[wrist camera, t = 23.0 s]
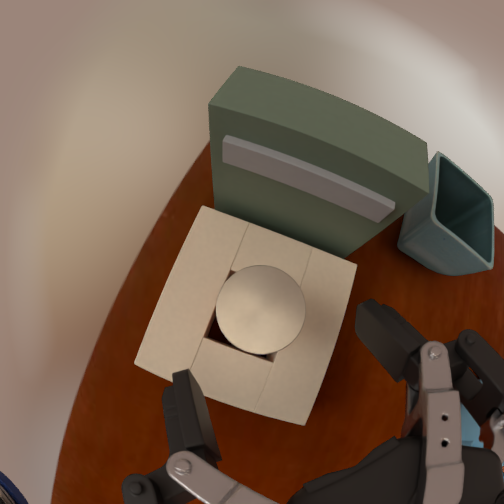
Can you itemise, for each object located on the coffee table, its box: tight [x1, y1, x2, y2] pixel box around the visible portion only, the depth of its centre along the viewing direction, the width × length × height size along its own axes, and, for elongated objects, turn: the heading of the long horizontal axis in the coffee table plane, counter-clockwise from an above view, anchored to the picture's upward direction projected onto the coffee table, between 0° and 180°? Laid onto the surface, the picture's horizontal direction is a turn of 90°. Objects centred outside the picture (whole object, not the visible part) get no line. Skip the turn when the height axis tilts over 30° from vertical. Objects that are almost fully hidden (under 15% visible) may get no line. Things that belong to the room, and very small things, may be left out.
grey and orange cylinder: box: [216, 265, 306, 355], centre depth 18 cm, size 5×5×9 cm
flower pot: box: [397, 152, 494, 276], centre depth 22 cm, size 9×9×9 cm
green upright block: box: [208, 66, 429, 259], centre depth 19 cm, size 12×4×14 cm, turn 70°
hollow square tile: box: [134, 206, 357, 425], centre depth 21 cm, size 13×13×4 cm
